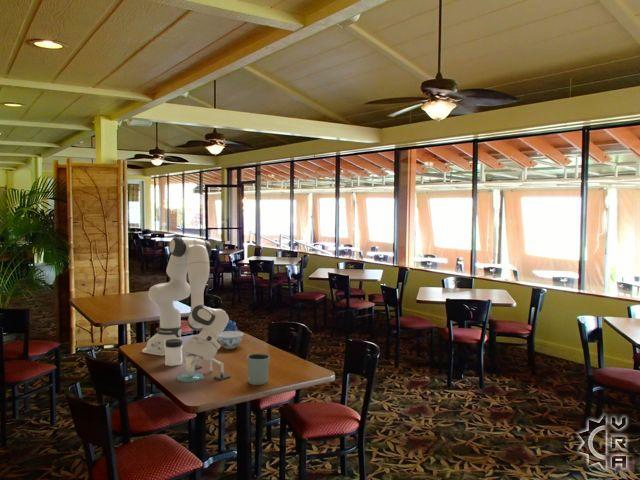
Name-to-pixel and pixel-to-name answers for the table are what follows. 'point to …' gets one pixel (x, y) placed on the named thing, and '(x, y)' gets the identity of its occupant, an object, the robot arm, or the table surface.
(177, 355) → the jar
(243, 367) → the table surface
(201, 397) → the table surface
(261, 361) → the grey-green open cylinder
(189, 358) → the salt shaker
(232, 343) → the chinaware
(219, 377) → the bent bar stand
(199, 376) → the saucer
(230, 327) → the grapes
